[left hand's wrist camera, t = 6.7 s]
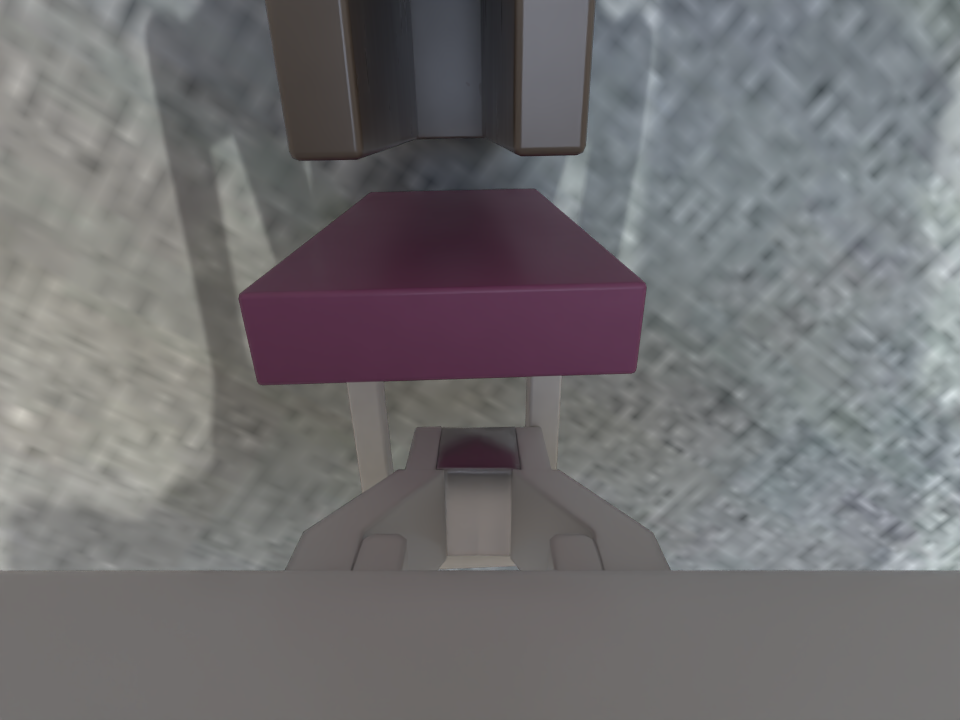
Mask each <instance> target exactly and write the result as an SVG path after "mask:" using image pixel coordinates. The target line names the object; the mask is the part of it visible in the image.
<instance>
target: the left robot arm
mask: <svg viewBox="0 0 960 720" xmlns="http://www.w3.org/2000/svg"><path fill="white" fill-rule="evenodd" d="M476 555H480V556H510V559H511V560H512V561H513V562H514V564H515V565H516V566H517V567H518V569H519V570H520V571H437V570H438V569H439V568H440V567H441V565H442V564H443V563H444V562H445V560H446V559H447V556H476ZM0 720H960V571H927V570H671V569H670V567H669V565H668V563H667V561H666V559H665V557H664V555H663V552H662V550H661V548H660V546H659V544H658V542H657V540H656V538H655V535H654V533H653V532H651V531H650V530H648V529H647V528H645V527H644V526H642V525H641V524H639V523H638V522H636V521H635V520H633V519H632V518H630V517H629V516H627V515H626V514H624V513H623V512H621V511H620V510H618V509H617V508H615V507H614V506H612V505H611V504H609V503H608V502H606V501H605V500H603V499H602V498H600V497H599V496H597V495H596V494H594V493H593V492H591V491H590V490H588V489H587V488H585V487H584V486H582V485H581V484H579V483H578V482H576V481H575V480H573V479H572V478H570V477H569V476H567V475H566V474H564V473H563V472H561V471H560V470H552V469H551V465H550V461H549V457H548V452H547V448H546V444H545V440H544V436H543V432H542V428H541V427H539V426H536V427H487V428H468V427H443V428H442V427H441V426H438V427H417V428H416V429H415V432H414V436H413V440H412V444H411V448H410V452H409V456H408V460H407V464H406V468H405V470H397V471H395V472H394V473H392V474H391V475H389V476H388V477H386V478H385V479H383V480H382V481H380V482H379V483H377V484H376V485H374V486H372V487H371V488H369V489H368V490H366V491H365V492H363V493H362V494H360V495H359V496H357V497H356V498H354V499H353V500H351V501H350V502H348V503H347V504H345V505H344V506H342V507H341V508H339V509H338V510H336V511H334V512H333V513H331V514H330V515H328V516H327V517H325V518H324V519H322V520H321V521H319V522H318V523H316V524H315V525H313V526H312V527H310V528H309V529H307V530H306V531H304V532H303V534H302V536H301V538H300V540H299V542H298V544H297V546H296V548H295V550H294V552H293V554H292V556H291V558H290V561H289V563H288V565H287V567H286V569H285V571H0Z"/></svg>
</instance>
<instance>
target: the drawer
mask: <svg viewBox="0 0 960 720" xmlns="http://www.w3.org/2000/svg"><path fill="white" fill-rule="evenodd" d="M595 1H596V0H265V5H266V11H267V17H268V23H269V29H270V35H271V42H272V48H273V54H274V60H275V66H276V72H277V79H278V85H279V91H280V97H281V103H282V110H283V116H284V122H285V128H286V134H287V140H288V147H289V152H290V154H291V156H292V157H293V158H294V159H296V160H299V161H312V160H357V159H360V158H363V157H366V156H368V155H371V154H374V153H377V152H380V151H383V150H386V149H388V148H391V147H394V146H397V145H400V144H403V143H406V142H408V141H411V140H414V139H447V138H487V139H489V140H491V141H492V142H494V143H496V144H498V145H500V146H502V147H504V148H506V149H507V150H509V151H511V152H513V153H515V154H517V155H520V156H559V155H578V154H580V153H583V151H584V149H585V147H586V138H587V123H588V108H589V93H590V78H591V62H592V47H593V32H594V17H595ZM646 289H647V287H646V283H645V282H644V281H643V280H641V279H640V278H639V277H638V276H637V275H636V274H634V273H633V272H632V271H631V270H630V269H628V268H627V267H626V266H625V265H624V264H623V263H621V262H620V261H619V260H618V259H617V258H616V257H614V256H613V255H612V254H611V253H610V252H609V251H607V250H606V249H605V248H604V247H603V246H602V245H600V244H599V243H598V242H597V241H596V240H595V239H593V238H592V237H591V236H590V235H589V234H588V233H586V232H585V231H584V230H583V229H582V228H581V227H579V226H578V225H577V224H576V223H575V222H574V221H572V220H571V219H570V218H569V217H568V216H566V215H565V214H564V213H563V212H562V211H561V210H559V209H558V208H557V207H556V206H555V205H554V204H552V203H551V202H550V201H549V200H548V199H547V198H545V197H544V196H543V195H542V194H541V193H540V192H538V191H537V190H536V189H500V190H454V191H409V192H371V193H369V194H368V195H366V196H365V197H364V198H363V199H361V200H360V201H359V202H357V203H356V204H355V205H354V206H352V207H351V208H350V209H348V210H347V211H346V212H345V213H343V214H342V215H341V216H339V217H338V218H337V219H335V220H334V221H333V222H332V223H330V224H329V225H328V226H326V227H325V228H324V229H323V230H321V231H320V232H319V233H317V234H316V235H315V236H314V237H312V238H311V239H310V240H308V241H307V242H306V243H305V244H303V245H302V246H301V247H299V248H298V249H297V250H295V251H294V252H293V253H292V254H290V255H289V256H288V257H286V258H285V259H284V260H283V261H281V262H280V263H279V264H277V265H276V266H275V267H274V268H272V269H271V270H270V271H268V272H267V273H266V274H265V275H263V276H262V277H261V278H259V279H258V280H257V281H255V282H254V283H253V284H252V285H250V286H249V287H248V288H246V289H245V290H244V291H243V292H241V293H240V294H239V303H240V308H241V312H242V317H243V321H244V325H245V330H246V334H247V339H248V343H249V348H250V352H251V356H252V361H253V365H254V370H255V374H256V378H257V382H258V383H259V384H260V385H285V384H317V383H347V389H348V396H349V403H350V410H351V417H352V424H353V431H354V438H355V445H356V452H357V459H358V466H359V473H360V480H361V487H362V493H363V492H365V491H366V490H368V489H369V488H371V487H372V486H374V485H376V484H377V483H379V482H380V481H382V480H383V479H385V478H386V477H388V476H389V475H391V474H392V473H394V472H393V463H392V454H391V445H390V436H389V426H388V417H387V408H386V399H385V390H384V381H411V380H442V379H474V378H505V377H527V380H526V421H525V427H536V426H539V427H541V428H542V432H543V436H544V440H545V444H546V448H547V452H548V457H549V461H550V465H551V469H552V470H557V452H558V435H559V418H560V400H561V383H562V376H568V375H600V374H631V373H634V372H635V371H636V368H637V360H638V352H639V344H640V336H641V328H642V320H643V312H644V305H645V297H646ZM502 566H516V565H515V564H514V562H513V561H512V560H511V559H510V556H480V555H476V556H447V559H446V560H445V562H444V563H443V564H442V565H441V567H440V568H439V569H454V568H478V567H502Z"/></svg>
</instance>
